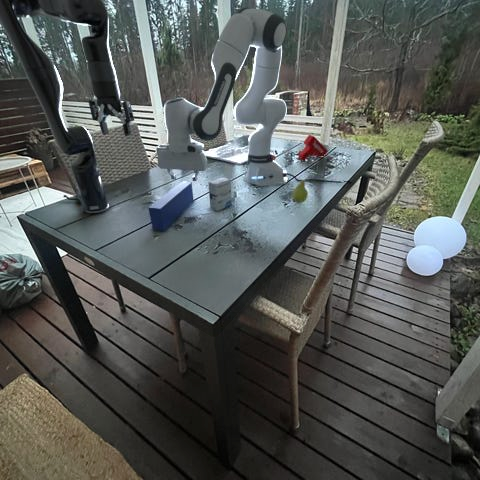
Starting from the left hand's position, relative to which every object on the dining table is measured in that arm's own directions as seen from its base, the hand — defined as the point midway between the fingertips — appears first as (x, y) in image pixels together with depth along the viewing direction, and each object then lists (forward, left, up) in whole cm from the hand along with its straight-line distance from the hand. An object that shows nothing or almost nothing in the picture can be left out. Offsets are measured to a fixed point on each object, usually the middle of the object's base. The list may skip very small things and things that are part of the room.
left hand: (117, 134), depth 92 cm
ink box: (+26, +24, -32) cm, 48 cm away
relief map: (-5, +98, -32) cm, 104 cm away
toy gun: (+47, +111, -32) cm, 125 cm away
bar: (+12, +10, -32) cm, 36 cm away
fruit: (+56, +42, -32) cm, 77 cm away
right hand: (+12, +18, -20) cm, 30 cm away
